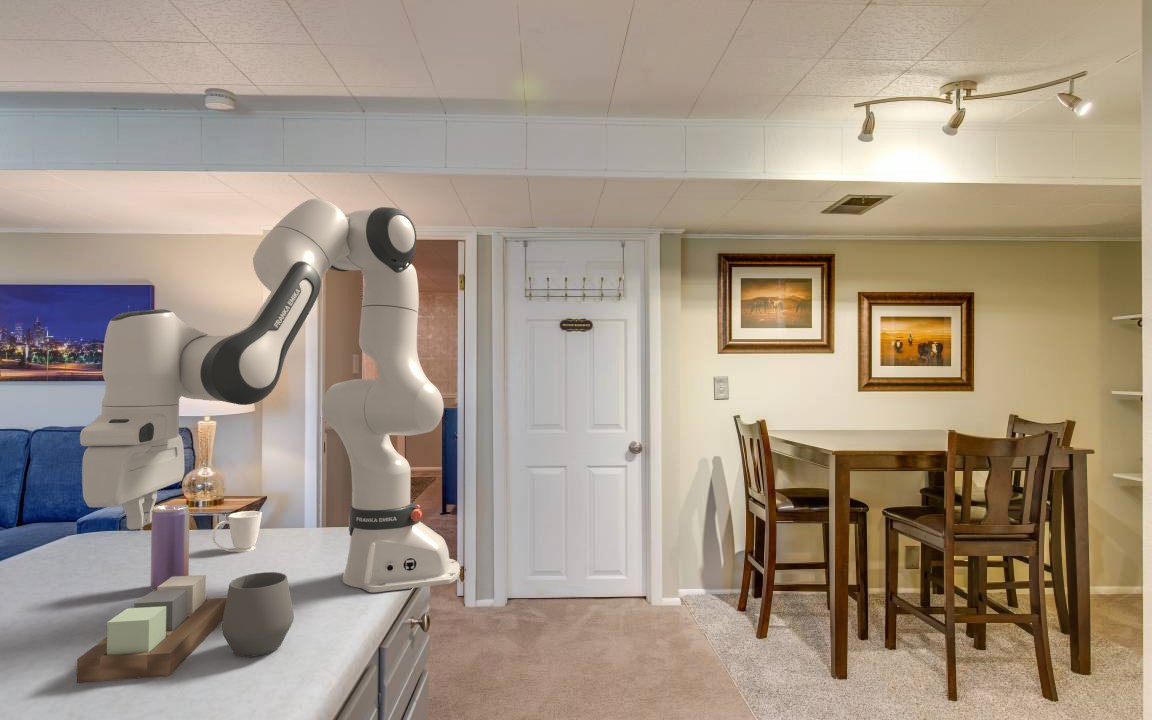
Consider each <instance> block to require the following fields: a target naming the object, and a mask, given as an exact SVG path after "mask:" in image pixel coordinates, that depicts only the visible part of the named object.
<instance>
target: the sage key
mask: <svg viewBox="0 0 1152 720" xmlns="http://www.w3.org/2000/svg"><path fill="white" fill-rule="evenodd" d="M106 624H107V626H106V627H107V628H106V632H107V633H106V634H107V636H106V637H107V655H117V654H132V653H147V652H150V651H151V650H152V649H154V648H155V647H156V646H157V645H158V644H159V643H160V642H161V641H162V640H164V639H165V638H166V606H162V607H144V608H134V607H132V608H131V607H129V608H126V609H124V610H123V611H121V612H120V613H119V614H117V615H115V616H114V617H113V618H111V619H110V620H109V621H107V623H106Z"/></svg>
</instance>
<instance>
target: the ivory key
mask: <svg viewBox="0 0 1152 720" xmlns="http://www.w3.org/2000/svg"><path fill="white" fill-rule="evenodd" d="M206 579H207V578H206V574H201V575H197V574H196V575H189V576H174V577H171V578H169V579H168V580H167V581H165V582H164V583H162V584H161V585H160V586H158V588H157V591H168V590H187V613H194V612H195V611H196V610H197V609H198V608H199V607H200V606H201V605H203V604H204V603H205V599H206V586H207V585H206V582H207V581H206Z"/></svg>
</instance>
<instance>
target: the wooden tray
mask: <svg viewBox="0 0 1152 720" xmlns="http://www.w3.org/2000/svg"><path fill="white" fill-rule="evenodd" d="M226 599H227V597H217V598H216V597H215V598H205V603H204V604H203V605H201V606H200V607H199V608H198V609H197V610H196V611H195V612H194V613H187V619H186V620H185V621H184V622H183V623H181V624H180V625H179V626H178V627H177V628H176V629H175V630H174V631H168V632H166V638H165V639H164V640H162V641H161V642H160V643H159V644H158V645H157V646H156V647H155V648H154V649H152V650H151V651H150V652H147V653H132V654H117V655H107V636H105V638H104V639H102V640H100V642H98V643H97V644H95V645H94V646H93V647H92V648H90V649H89V650H87V651H86V652H84V653H83V654H82V655H81V656H79V657H78V658H77V659H76V683H89V682H90V683H91V682H103V681H104V682H105V681H117V680H131V679H143V678H144V679H145V678H160V677H170V676H171V675H172V673H174V672H175V671H176V670H177V668H178V667H180V665H181V664H183V663H184V661H186V659H187V658H188V657H189V656H190V655H191V654H192V653H193V652H194V651H195V650H196V649H197V648H198V647H199V646H200V645H201V644H202V643H203V642H204V640H205V639H206V638H207V637H208V636H210V634H211V633H212V632H213V631H214V630H216V628H217V627H218V626H219V625H221V624H222V619H223V614H224V609H225V604H226Z"/></svg>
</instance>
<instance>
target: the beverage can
mask: <svg viewBox="0 0 1152 720" xmlns="http://www.w3.org/2000/svg"><path fill="white" fill-rule="evenodd" d="M190 513H191V512H190V509H189V505H188V504H185V503H173V504H172V503H171V504H166V505H158V506H154V507H153V510H152V522H151V533H150V534H151V536H150V537H151V538H150V539H151V542H150V543H151V544H150V547H151V548H150V550H151V551H150V589H151V590H152V591H157V588H158V586H160V585H161V584H162V583H164V582H165V581H167V580H168V579H169V578H171V577H174V576H190V573H189V568H190V567H189V566H190V564H189V563H190V562H189V561H190Z"/></svg>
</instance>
